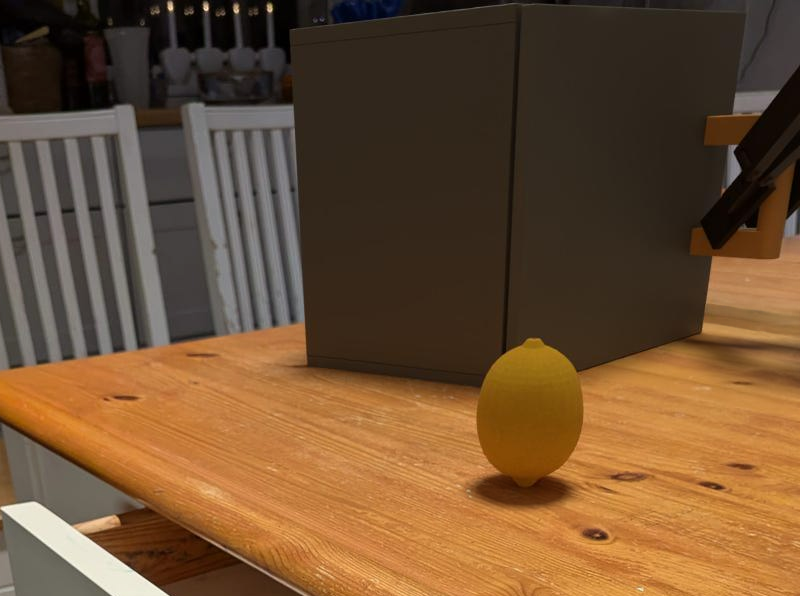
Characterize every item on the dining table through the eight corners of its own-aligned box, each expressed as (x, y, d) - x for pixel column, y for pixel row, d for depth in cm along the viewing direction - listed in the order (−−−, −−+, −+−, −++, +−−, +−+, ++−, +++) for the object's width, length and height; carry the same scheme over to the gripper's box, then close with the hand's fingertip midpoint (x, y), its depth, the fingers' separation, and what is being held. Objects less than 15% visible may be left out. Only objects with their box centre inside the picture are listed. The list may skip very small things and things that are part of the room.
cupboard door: (780, 342, 80) (841, 1, 68) (596, 408, 65) (635, -11, 54) (691, 330, 85) (734, 13, 74) (503, 389, 70) (521, 5, 59)
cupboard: (631, 326, 88) (664, 18, 77) (499, 391, 71) (516, 2, 59) (460, 313, 98) (467, 38, 87) (306, 367, 80) (289, 29, 69)
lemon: (466, 501, 51) (471, 348, 47) (482, 468, 56) (487, 326, 52) (573, 508, 50) (586, 351, 46) (580, 473, 54) (593, 327, 50)
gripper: (1056, -92, 59) (791, 189, 81) (857, -104, 54) (629, 201, 75) (1115, 1, 57) (828, 263, 79) (916, -2, 52) (665, 281, 74)
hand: (731, 233), depth 77 cm, fingers open, 4 cm apart
